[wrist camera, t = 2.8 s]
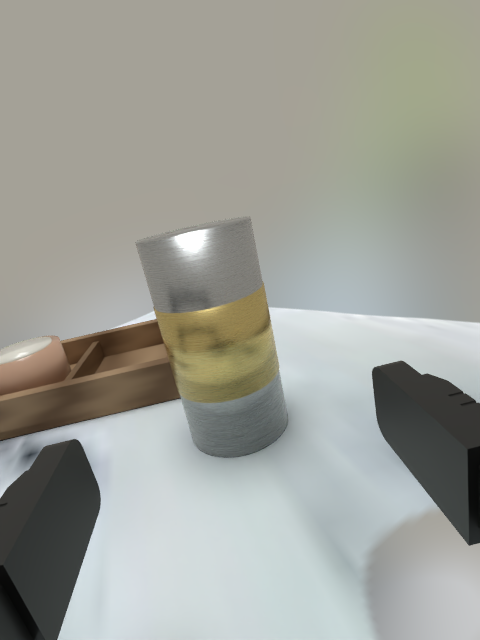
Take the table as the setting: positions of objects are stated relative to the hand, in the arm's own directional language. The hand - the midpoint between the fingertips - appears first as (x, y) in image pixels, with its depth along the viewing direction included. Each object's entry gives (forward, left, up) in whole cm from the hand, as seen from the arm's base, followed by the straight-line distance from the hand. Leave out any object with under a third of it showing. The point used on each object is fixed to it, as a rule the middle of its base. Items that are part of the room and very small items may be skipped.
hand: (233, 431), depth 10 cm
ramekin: (-17, +22, -7) cm, 29 cm away
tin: (0, +11, -7) cm, 13 cm away
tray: (-12, +22, -7) cm, 26 cm away
